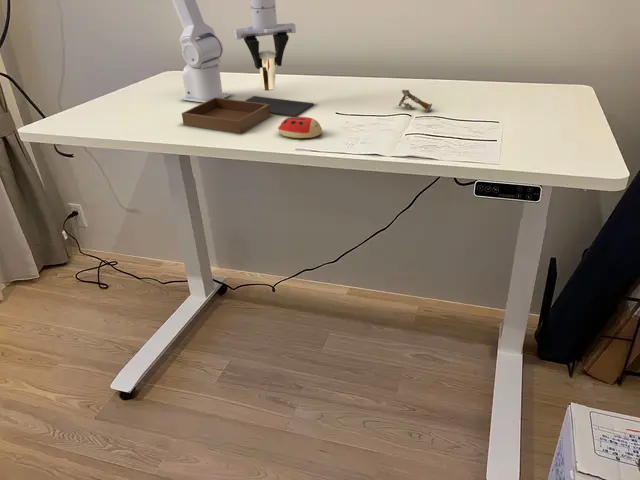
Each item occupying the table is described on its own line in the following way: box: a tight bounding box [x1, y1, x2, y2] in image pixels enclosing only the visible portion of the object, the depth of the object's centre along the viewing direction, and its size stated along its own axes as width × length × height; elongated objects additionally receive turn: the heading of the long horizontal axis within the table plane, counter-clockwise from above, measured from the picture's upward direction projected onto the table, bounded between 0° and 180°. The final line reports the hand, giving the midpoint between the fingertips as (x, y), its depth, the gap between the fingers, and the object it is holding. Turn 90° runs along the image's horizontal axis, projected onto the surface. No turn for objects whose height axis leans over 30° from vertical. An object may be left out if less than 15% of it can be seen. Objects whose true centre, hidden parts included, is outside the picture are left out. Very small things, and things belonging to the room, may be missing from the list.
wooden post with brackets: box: [398, 89, 433, 113], centre depth 136 cm, size 2×8×4 cm, turn 62°
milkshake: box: [259, 50, 278, 92], centre depth 137 cm, size 4×5×10 cm
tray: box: [181, 97, 272, 135], centre depth 134 cm, size 16×13×3 cm
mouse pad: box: [245, 95, 315, 117], centre depth 142 cm, size 18×10×1 cm, turn 63°
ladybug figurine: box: [277, 116, 323, 139], centre depth 124 cm, size 7×10×4 cm
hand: (268, 66), depth 137 cm, fingers closed on milkshake, 5 cm apart
